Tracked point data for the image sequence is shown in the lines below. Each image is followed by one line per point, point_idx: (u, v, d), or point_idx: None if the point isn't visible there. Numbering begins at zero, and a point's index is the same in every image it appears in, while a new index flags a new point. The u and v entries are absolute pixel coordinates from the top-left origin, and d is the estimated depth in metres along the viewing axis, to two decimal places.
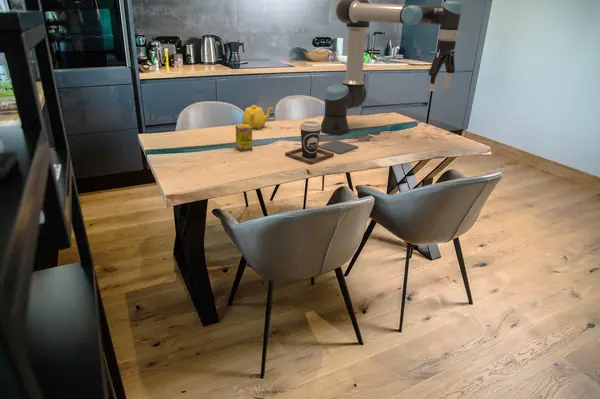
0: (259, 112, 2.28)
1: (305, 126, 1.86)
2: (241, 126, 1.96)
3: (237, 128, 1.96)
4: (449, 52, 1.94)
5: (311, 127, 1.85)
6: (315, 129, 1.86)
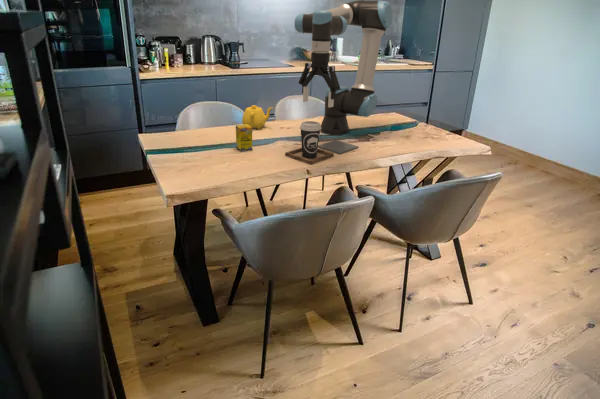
0: (259, 112, 2.28)
1: (305, 126, 1.86)
2: (241, 126, 1.96)
3: (237, 128, 1.96)
4: (321, 66, 1.77)
5: (311, 127, 1.85)
6: (315, 129, 1.86)
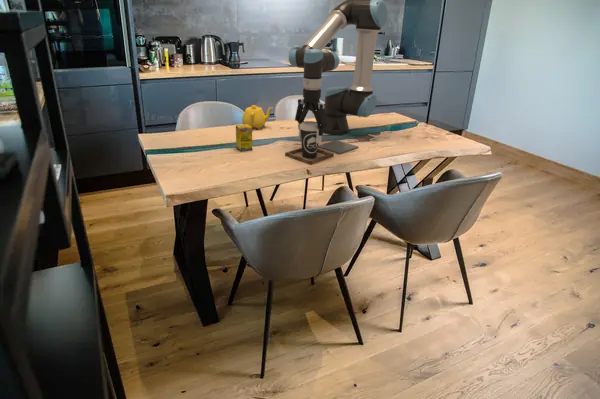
0: (259, 112, 2.28)
1: (305, 126, 1.86)
2: (241, 126, 1.96)
3: (237, 128, 1.96)
4: (313, 101, 1.83)
5: (311, 127, 1.85)
6: (315, 129, 1.86)
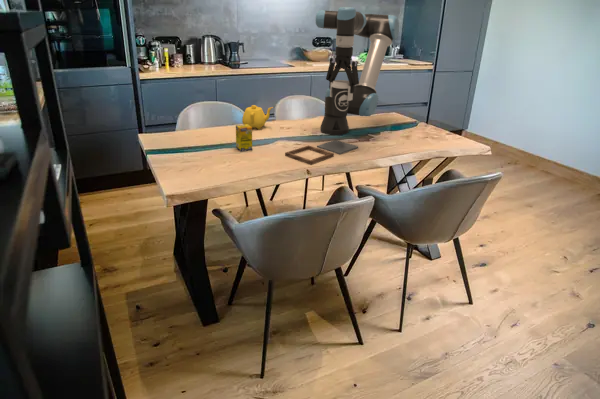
0: (259, 112, 2.28)
1: (337, 84, 1.91)
2: (241, 126, 1.96)
3: (237, 128, 1.96)
4: (345, 59, 1.88)
5: (343, 84, 1.91)
6: (347, 86, 1.91)
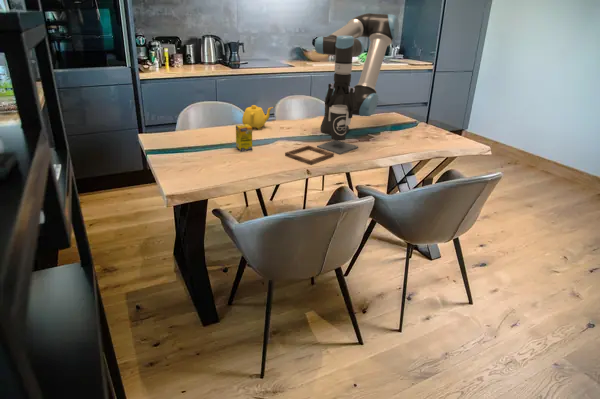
0: (259, 112, 2.28)
1: (335, 109, 1.96)
2: (241, 126, 1.96)
3: (237, 128, 1.96)
4: (344, 85, 1.93)
5: (341, 110, 1.95)
6: (345, 112, 1.96)
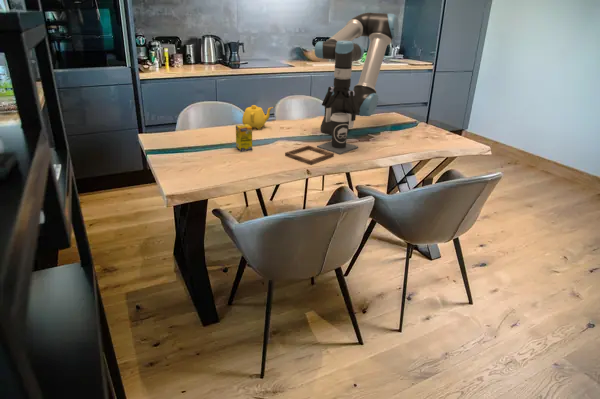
0: (259, 112, 2.28)
1: (336, 117, 1.98)
2: (241, 126, 1.96)
3: (237, 128, 1.96)
4: (343, 90, 1.94)
5: (342, 118, 1.97)
6: (345, 120, 1.97)
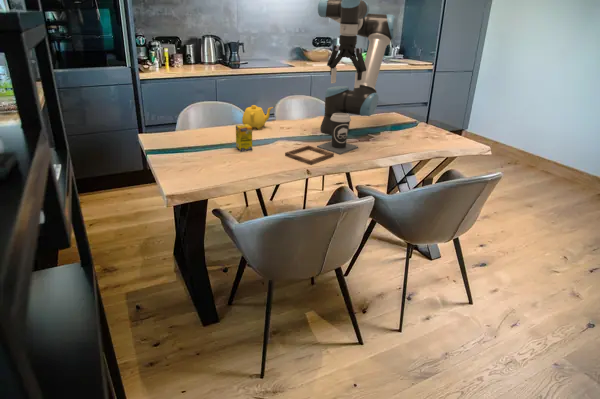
0: (259, 112, 2.28)
1: (336, 117, 1.98)
2: (241, 126, 1.96)
3: (237, 128, 1.96)
4: (349, 48, 1.86)
5: (342, 118, 1.97)
6: (345, 120, 1.97)
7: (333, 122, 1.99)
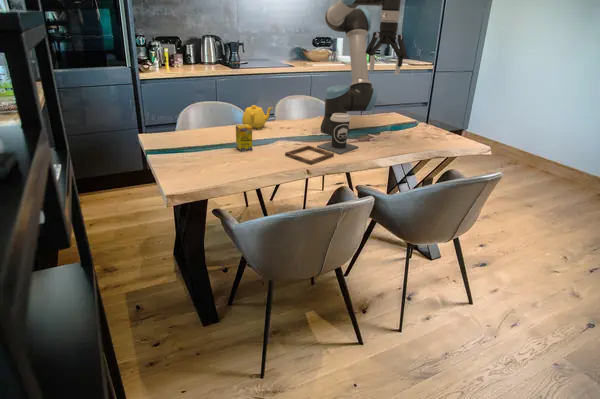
0: (259, 112, 2.28)
1: (336, 117, 1.98)
2: (241, 126, 1.96)
3: (237, 128, 1.96)
4: (390, 34, 1.88)
5: (342, 118, 1.97)
6: (345, 120, 1.97)
7: (333, 122, 1.99)
